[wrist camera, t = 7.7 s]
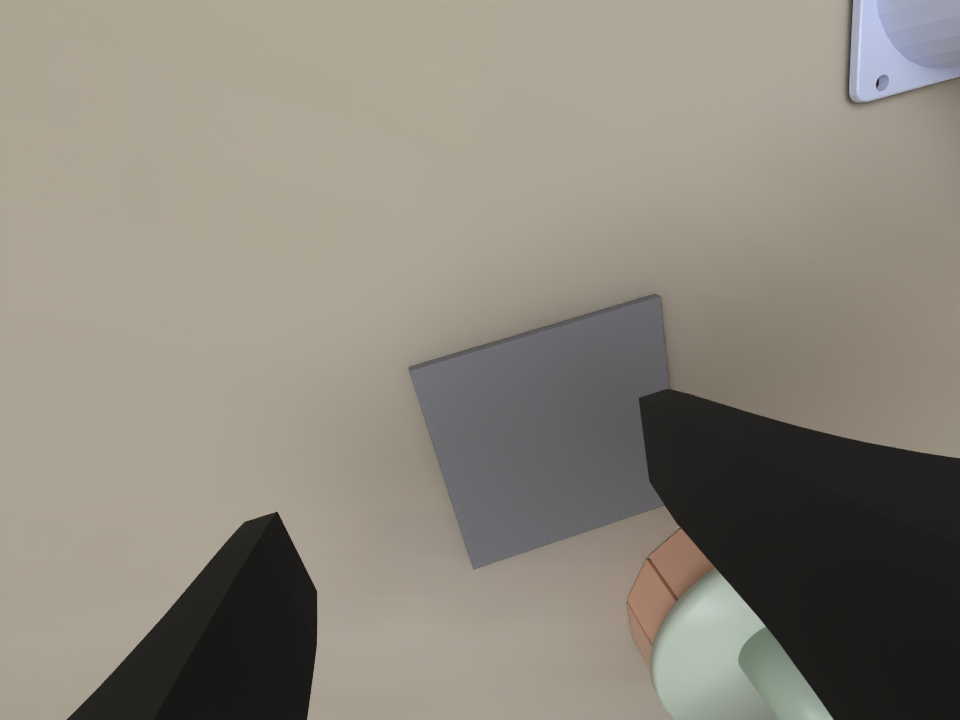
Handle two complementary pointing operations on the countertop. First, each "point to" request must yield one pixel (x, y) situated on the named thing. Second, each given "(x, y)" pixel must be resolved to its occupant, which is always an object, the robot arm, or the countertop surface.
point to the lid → (725, 661)
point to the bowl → (663, 587)
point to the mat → (546, 428)
